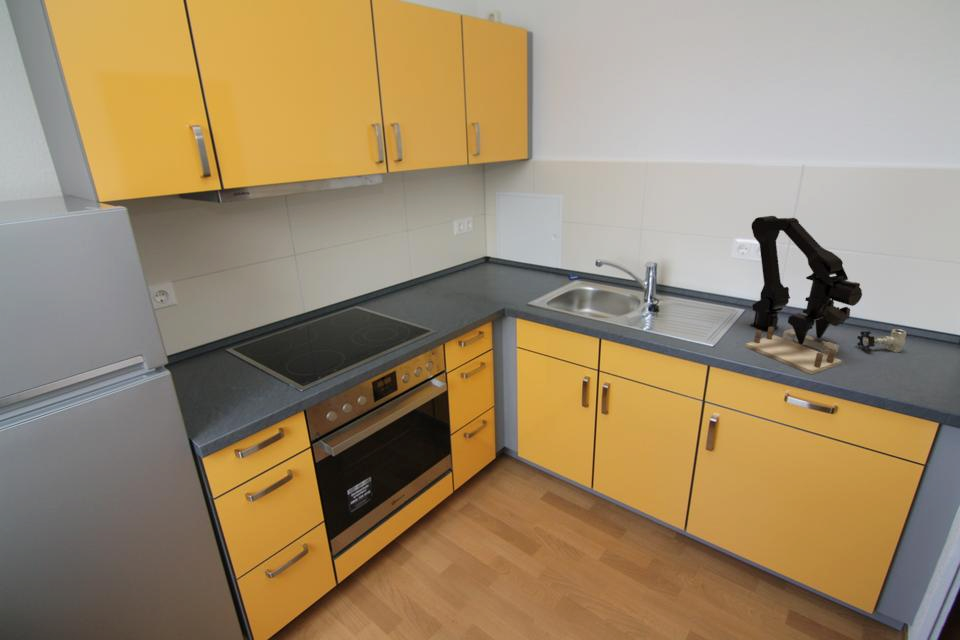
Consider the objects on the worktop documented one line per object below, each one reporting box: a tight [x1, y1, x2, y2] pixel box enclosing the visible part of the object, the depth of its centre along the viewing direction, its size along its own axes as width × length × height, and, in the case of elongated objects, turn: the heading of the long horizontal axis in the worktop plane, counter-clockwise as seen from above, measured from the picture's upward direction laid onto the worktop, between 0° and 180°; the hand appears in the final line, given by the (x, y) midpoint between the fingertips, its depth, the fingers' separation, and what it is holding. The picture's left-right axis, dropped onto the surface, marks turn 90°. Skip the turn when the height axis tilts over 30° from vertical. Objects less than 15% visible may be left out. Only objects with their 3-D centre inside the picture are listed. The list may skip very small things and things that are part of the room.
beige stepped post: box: [782, 328, 840, 355], centre depth 164 cm, size 16×4×2 cm, turn 26°
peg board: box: [744, 327, 843, 375], centre depth 157 cm, size 22×14×5 cm, turn 26°
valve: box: [856, 328, 907, 353], centre depth 158 cm, size 7×7×12 cm
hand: (809, 340), depth 164 cm, fingers open, 9 cm apart
